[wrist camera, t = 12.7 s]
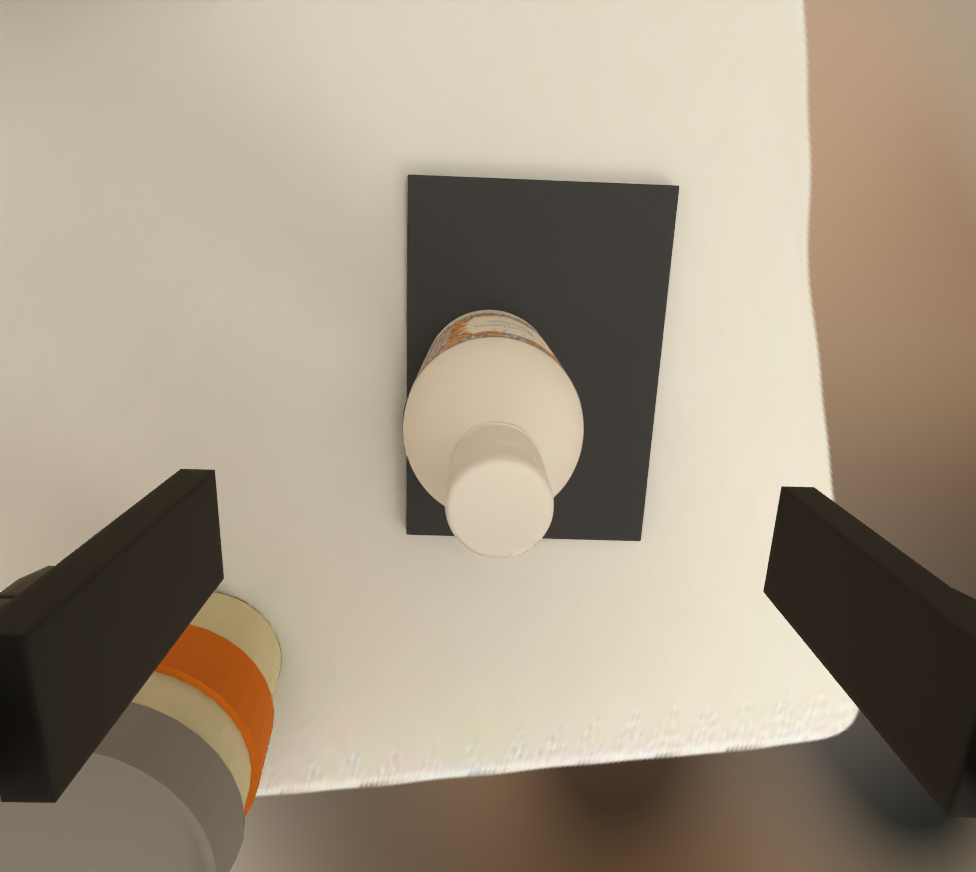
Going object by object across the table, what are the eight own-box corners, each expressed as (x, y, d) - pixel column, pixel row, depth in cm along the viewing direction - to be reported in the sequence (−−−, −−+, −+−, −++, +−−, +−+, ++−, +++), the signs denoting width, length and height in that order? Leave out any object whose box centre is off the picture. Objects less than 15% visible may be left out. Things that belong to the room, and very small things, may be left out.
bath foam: (567, 328, 36) (668, 421, 17) (530, 445, 38) (584, 651, 19) (444, 292, 35) (403, 348, 16) (412, 413, 37) (342, 592, 18)
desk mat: (409, 176, 35) (407, 174, 34) (675, 187, 35) (679, 185, 34) (407, 529, 40) (406, 534, 39) (637, 535, 40) (640, 541, 40)
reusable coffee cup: (173, 526, 40) (1, 685, 25) (348, 636, 42) (279, 840, 28) (74, 671, 42) (-133, 890, 28) (243, 767, 45) (131, 1015, 30)
